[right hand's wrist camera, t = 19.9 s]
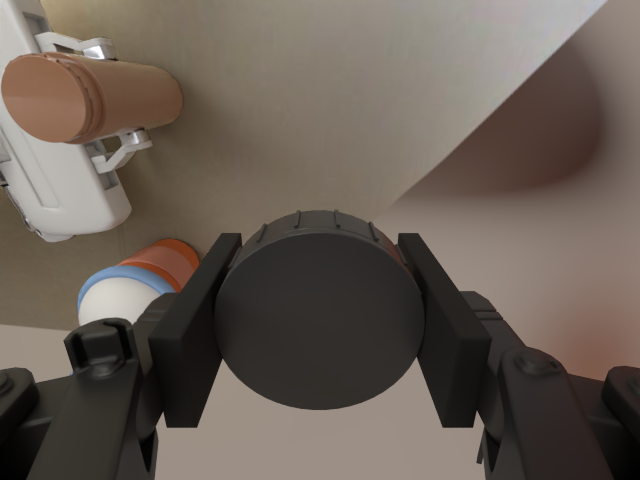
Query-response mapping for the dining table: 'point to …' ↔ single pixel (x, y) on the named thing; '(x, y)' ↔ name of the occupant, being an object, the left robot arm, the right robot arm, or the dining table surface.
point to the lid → (319, 312)
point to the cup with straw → (136, 282)
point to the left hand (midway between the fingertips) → (130, 94)
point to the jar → (87, 97)
